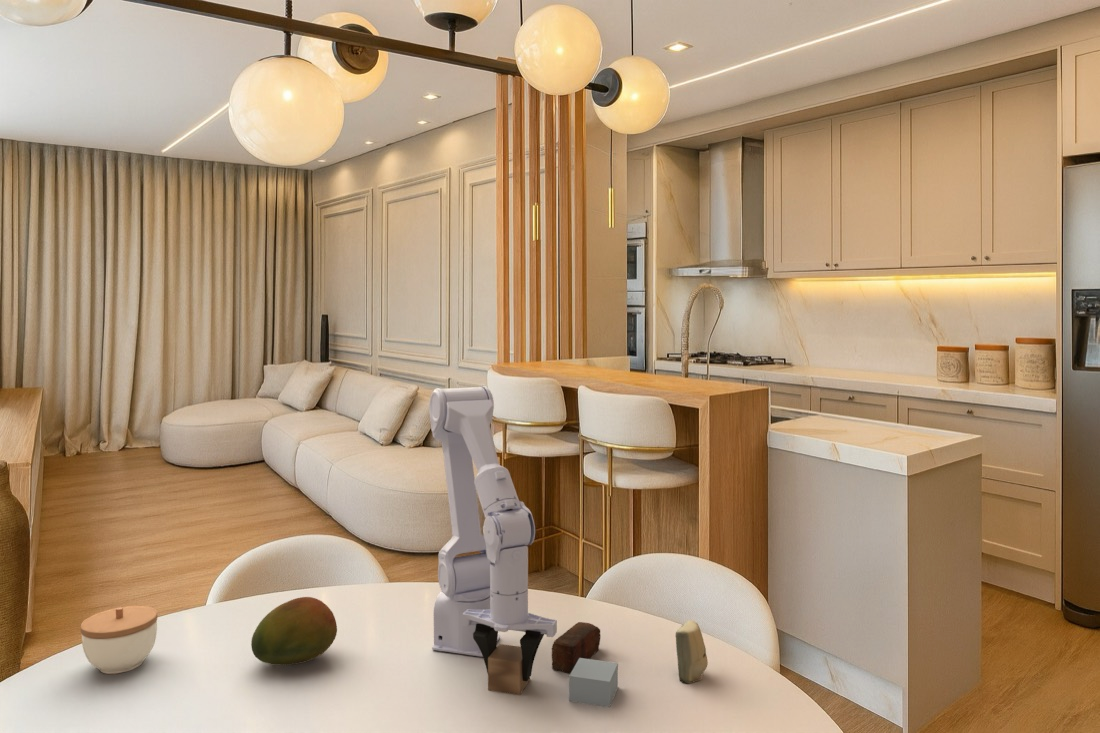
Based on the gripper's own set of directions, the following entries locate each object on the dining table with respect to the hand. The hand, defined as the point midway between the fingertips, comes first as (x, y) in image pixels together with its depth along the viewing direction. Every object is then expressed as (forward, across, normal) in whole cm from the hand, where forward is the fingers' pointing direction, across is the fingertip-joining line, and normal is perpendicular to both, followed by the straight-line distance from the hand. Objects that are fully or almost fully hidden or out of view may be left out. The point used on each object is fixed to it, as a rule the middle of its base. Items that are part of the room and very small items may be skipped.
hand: (509, 675), depth 114 cm
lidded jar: (+2, -62, -12) cm, 63 cm away
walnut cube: (+1, 0, 0) cm, 1 cm away
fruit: (+2, -36, -3) cm, 36 cm away
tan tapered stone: (+2, +26, +11) cm, 28 cm away
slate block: (+2, +13, +1) cm, 13 cm away
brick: (+2, +8, +11) cm, 14 cm away
